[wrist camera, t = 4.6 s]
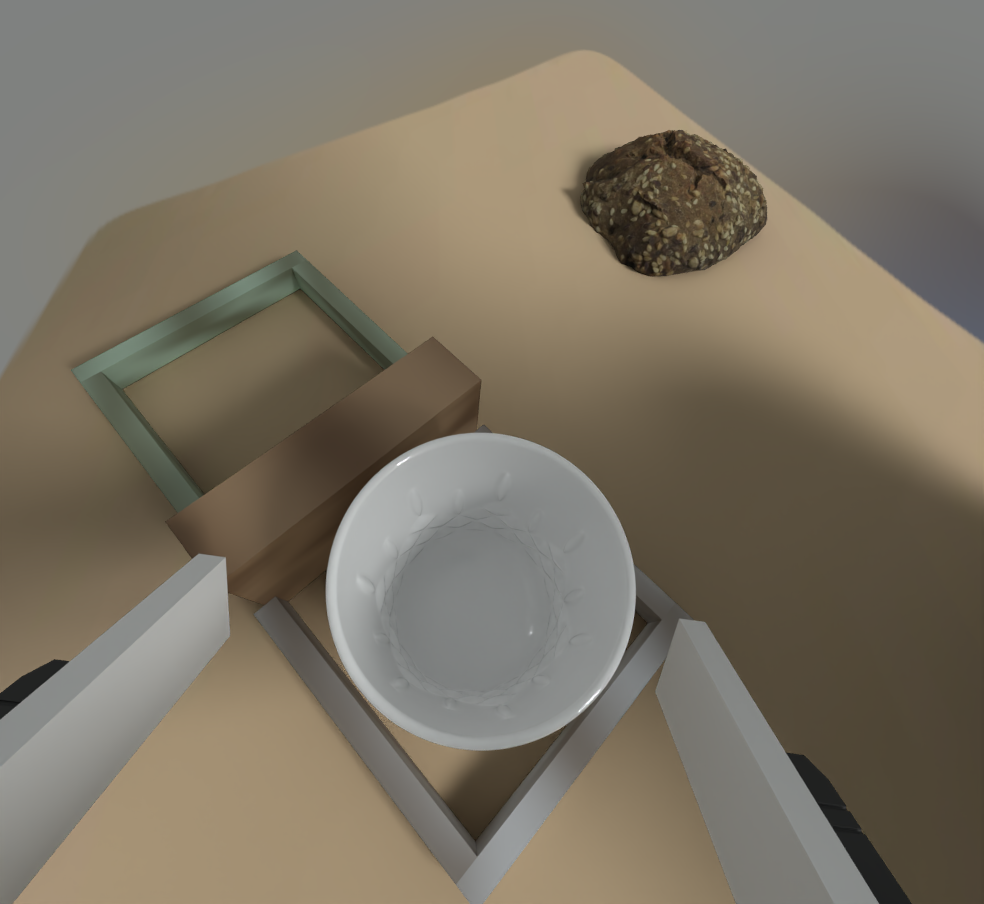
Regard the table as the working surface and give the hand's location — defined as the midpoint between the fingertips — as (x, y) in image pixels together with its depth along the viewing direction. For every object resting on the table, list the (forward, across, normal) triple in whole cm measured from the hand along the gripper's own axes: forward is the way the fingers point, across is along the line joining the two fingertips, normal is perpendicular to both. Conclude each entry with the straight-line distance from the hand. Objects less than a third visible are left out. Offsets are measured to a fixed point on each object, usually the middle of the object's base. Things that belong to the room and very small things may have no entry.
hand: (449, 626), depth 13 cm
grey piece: (+10, -5, -1) cm, 11 cm away
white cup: (+6, +1, -4) cm, 8 cm away
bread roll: (+28, +11, +16) cm, 34 cm away
